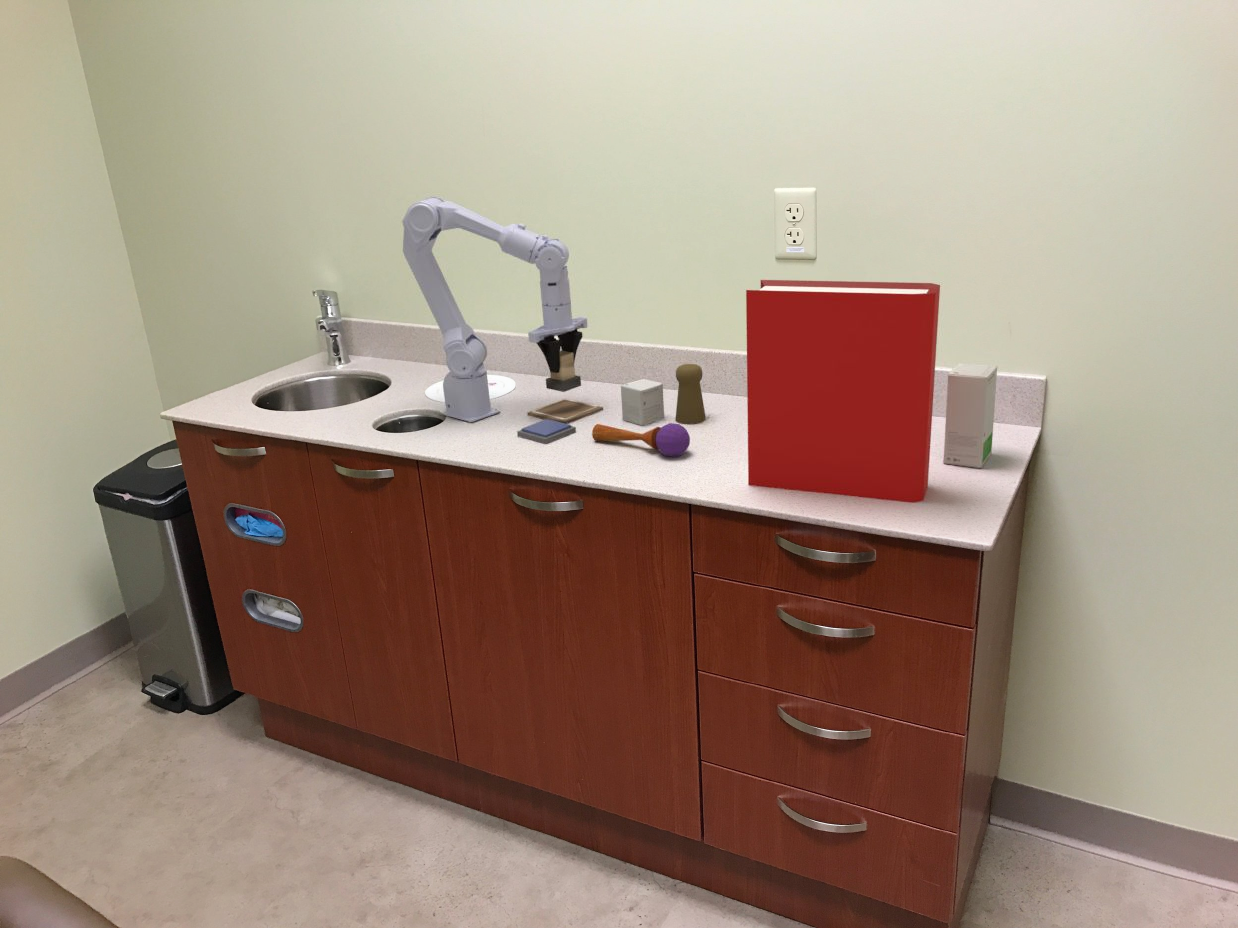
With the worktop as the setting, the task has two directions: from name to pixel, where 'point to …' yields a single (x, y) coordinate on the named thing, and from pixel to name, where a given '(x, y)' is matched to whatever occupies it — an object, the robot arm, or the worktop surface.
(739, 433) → the worktop surface
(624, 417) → the skincare box
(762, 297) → the book
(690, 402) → the cork
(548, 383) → the stamp
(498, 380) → the worktop surface
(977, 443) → the skincare box
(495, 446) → the worktop surface
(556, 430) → the ink pad
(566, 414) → the board
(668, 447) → the purple maraca
